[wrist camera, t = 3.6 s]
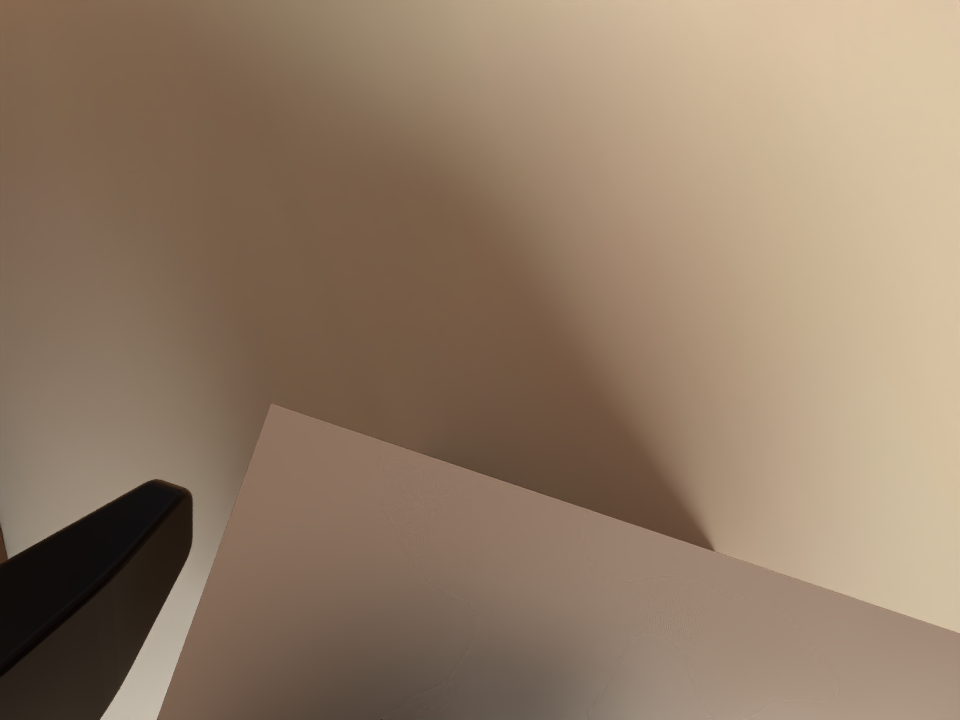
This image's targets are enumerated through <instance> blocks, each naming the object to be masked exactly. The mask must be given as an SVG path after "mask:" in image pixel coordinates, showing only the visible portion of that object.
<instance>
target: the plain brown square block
mask: <svg viewBox="0 0 960 720" xmlns="http://www.w3.org/2000/svg"><path fill="white" fill-rule="evenodd" d="M157 720H960V633H957V632H954V631H951V630H948V629H945V628H942V627H939V626H936V625H933V624H930V623H927V622H924V621H921V620H918V619H915V618H912V617H909V616H906V615H903V614H900V613H897V612H894V611H891V610H888V609H885V608H882V607H879V606H876V605H873V604H870V603H867V602H864V601H861V600H858V599H855V598H852V597H849V596H846V595H843V594H840V593H837V592H834V591H831V590H828V589H825V588H822V587H819V586H816V585H813V584H810V583H807V582H804V581H801V580H798V579H795V578H792V577H789V576H786V575H783V574H780V573H777V572H774V571H771V570H768V569H765V568H762V567H759V566H756V565H753V564H750V563H747V562H744V561H741V560H738V559H735V558H732V557H729V556H726V555H723V554H720V553H717V552H714V551H711V550H708V549H705V548H702V547H699V546H696V545H693V544H690V543H687V542H684V541H681V540H678V539H675V538H672V537H669V536H666V535H663V534H660V533H657V532H654V531H651V530H648V529H645V528H642V527H640V526H637V525H634V524H631V523H628V522H625V521H622V520H619V519H616V518H613V517H610V516H607V515H604V514H601V513H598V512H595V511H592V510H589V509H586V508H583V507H580V506H577V505H574V504H571V503H568V502H565V501H562V500H559V499H556V498H553V497H550V496H547V495H544V494H541V493H538V492H535V491H532V490H529V489H526V488H523V487H520V486H517V485H514V484H511V483H508V482H505V481H502V480H499V479H496V478H493V477H490V476H487V475H484V474H481V473H478V472H475V471H472V470H469V469H466V468H463V467H460V466H457V465H454V464H451V463H448V462H445V461H442V460H439V459H436V458H433V457H430V456H427V455H424V454H421V453H418V452H415V451H412V450H409V449H406V448H403V447H400V446H397V445H394V444H391V443H388V442H385V441H382V440H379V439H376V438H373V437H370V436H367V435H364V434H361V433H358V432H355V431H352V430H349V429H346V428H343V427H340V426H337V425H334V424H331V423H328V422H325V421H322V420H319V419H316V418H313V417H310V416H307V415H304V414H301V413H298V412H295V411H292V410H289V409H286V408H284V407H281V406H278V405H275V404H272V403H271V405H270V408H269V411H268V413H267V416H266V419H265V422H264V424H263V427H262V430H261V433H260V436H259V438H258V441H257V444H256V447H255V449H254V452H253V455H252V458H251V460H250V463H249V466H248V469H247V472H246V474H245V477H244V480H243V483H242V485H241V488H240V491H239V494H238V496H237V499H236V502H235V505H234V507H233V510H232V513H231V516H230V519H229V521H228V524H227V527H226V530H225V532H224V535H223V538H222V541H221V543H220V546H219V549H218V552H217V555H216V557H215V560H214V563H213V566H212V568H211V571H210V574H209V577H208V579H207V582H206V585H205V588H204V591H203V593H202V596H201V599H200V602H199V604H198V607H197V610H196V613H195V615H194V618H193V621H192V624H191V627H190V629H189V632H188V635H187V638H186V640H185V643H184V646H183V649H182V651H181V654H180V657H179V660H178V663H177V665H176V668H175V671H174V674H173V676H172V679H171V682H170V685H169V687H168V690H167V693H166V696H165V699H164V701H163V704H162V707H161V710H160V712H159V715H158V718H157Z"/></svg>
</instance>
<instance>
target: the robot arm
mask: <svg viewBox="0 0 960 720" xmlns="http://www.w3.org/2000/svg"><path fill="white" fill-rule="evenodd" d="M192 537H193V499H192V494H191V492H190V491H189V490H188V489H186V488H184V487H181V486H178V485H175V484H172V483H169V482H166V481H163V480H158V479H155V480H150V481H148V482H146V483H144V484H142V485H140V486H138V487H137V488H135V489H133V490H131V491H129V492H128V493H126V494H124V495H122V496H120V497H119V498H117V499H115V500H113V501H112V502H110V503H108V504H106V505H104V506H103V507H101V508H99V509H97V510H96V511H94V512H92V513H90V514H88V515H87V516H85V517H83V518H81V519H79V520H78V521H76V522H74V523H72V524H71V525H69V526H67V527H65V528H63V529H62V530H60V531H58V532H56V533H55V534H53V535H51V536H49V537H47V538H46V539H44V540H42V541H40V542H38V543H37V544H35V545H33V546H31V547H30V548H28V549H26V550H24V551H22V552H21V553H19V554H17V555H15V556H14V557H12V558H10V559H8V560H6V561H5V562H3V563H1V564H0V720H100V719H101V717H102V716H103V714H104V713H105V711H106V710H107V708H108V707H109V705H110V703H111V702H112V700H113V699H114V697H115V695H116V694H117V692H118V691H119V689H120V687H121V685H122V684H123V682H124V680H125V678H126V676H127V674H128V672H129V671H130V669H131V667H132V665H133V663H134V661H135V659H136V657H137V655H138V653H139V651H140V649H141V648H142V646H143V644H144V642H145V640H146V638H147V636H148V634H149V632H150V630H151V628H152V626H153V624H154V622H155V620H156V618H157V617H158V615H159V613H160V611H161V609H162V607H163V605H164V603H165V601H166V599H167V597H168V595H169V593H170V591H171V589H172V587H173V585H174V584H175V582H176V580H177V578H178V576H179V574H180V572H181V570H182V568H183V566H184V564H185V562H186V560H187V558H188V555H189V552H190V549H191V545H192Z"/></svg>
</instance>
